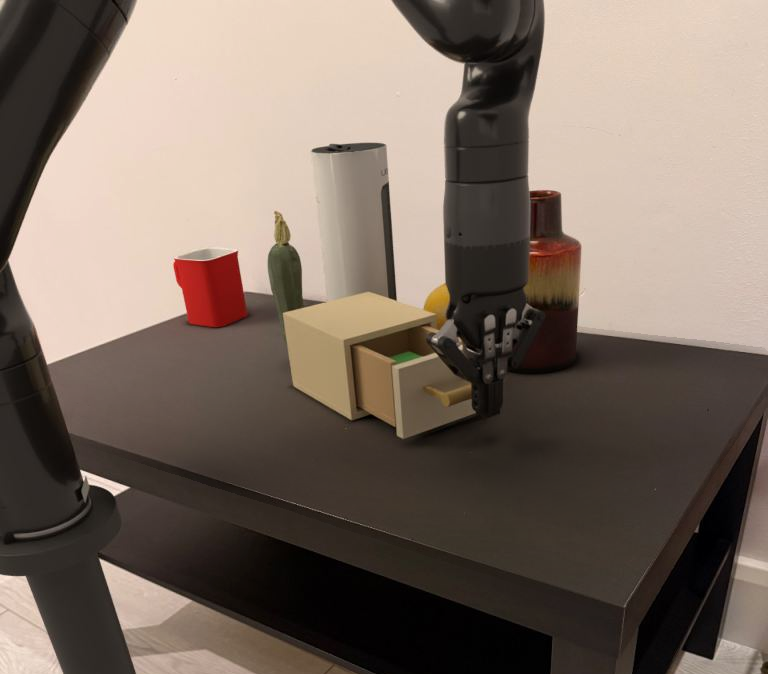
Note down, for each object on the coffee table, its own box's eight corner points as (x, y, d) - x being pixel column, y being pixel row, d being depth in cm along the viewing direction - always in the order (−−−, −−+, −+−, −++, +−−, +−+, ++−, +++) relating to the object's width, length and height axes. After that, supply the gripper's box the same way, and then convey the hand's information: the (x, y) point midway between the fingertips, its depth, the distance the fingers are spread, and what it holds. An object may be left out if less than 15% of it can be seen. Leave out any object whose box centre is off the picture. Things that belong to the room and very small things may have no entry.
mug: (253, 314, 129) (242, 249, 124) (219, 329, 123) (206, 261, 118) (202, 308, 135) (189, 245, 130) (167, 321, 129) (152, 256, 124)
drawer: (515, 422, 83) (515, 352, 79) (429, 454, 78) (425, 381, 74) (416, 377, 96) (413, 316, 92) (338, 402, 91) (331, 338, 87)
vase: (509, 342, 107) (510, 186, 97) (585, 349, 103) (595, 186, 92) (479, 368, 99) (477, 201, 89) (561, 378, 95) (569, 202, 84)
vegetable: (312, 369, 104) (292, 213, 94) (280, 371, 104) (257, 216, 94) (315, 358, 108) (295, 207, 97) (284, 360, 108) (261, 210, 98)
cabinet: (439, 391, 94) (436, 314, 89) (351, 420, 88) (343, 339, 83) (374, 362, 105) (368, 291, 100) (293, 386, 99) (282, 312, 94)
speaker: (388, 345, 110) (373, 145, 97) (320, 344, 113) (296, 149, 99) (406, 322, 119) (394, 136, 105) (342, 322, 121) (323, 140, 108)
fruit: (424, 349, 107) (421, 292, 103) (425, 331, 114) (422, 277, 110) (488, 346, 107) (487, 288, 102) (485, 328, 113) (484, 273, 109)
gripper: (452, 252, 62) (458, 446, 71) (572, 224, 68) (563, 407, 76) (400, 240, 67) (411, 421, 76) (515, 215, 73) (512, 386, 82)
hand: (487, 413), depth 76 cm, fingers closed
